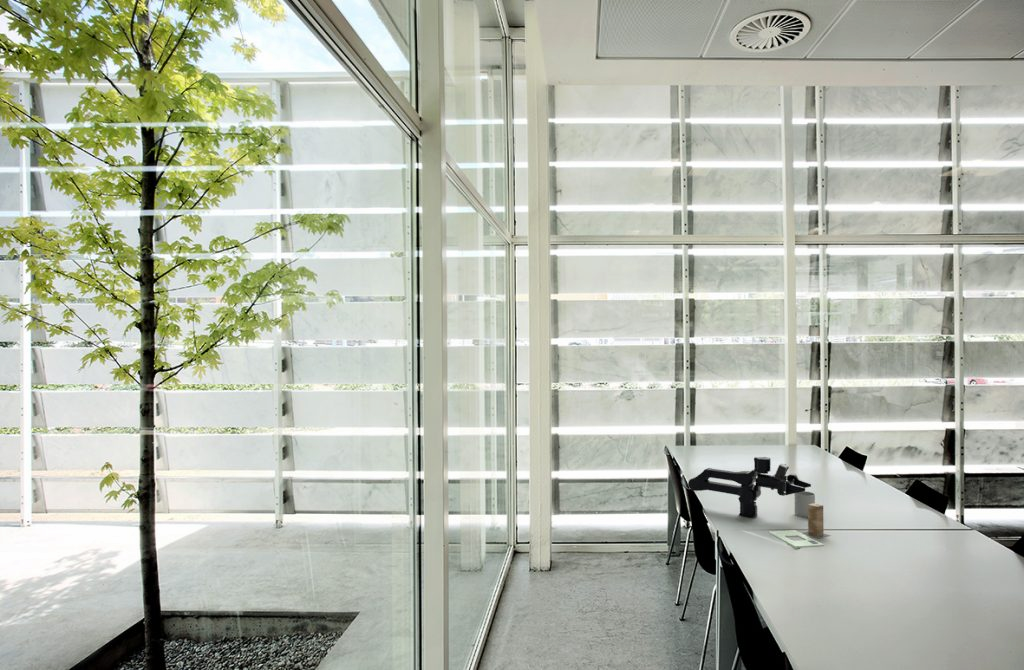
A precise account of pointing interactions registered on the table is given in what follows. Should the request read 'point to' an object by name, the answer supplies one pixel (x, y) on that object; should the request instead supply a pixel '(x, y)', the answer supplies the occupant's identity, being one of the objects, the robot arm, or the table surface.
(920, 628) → the table surface
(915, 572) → the table surface
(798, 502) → the cup
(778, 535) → the flange plate
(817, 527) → the post
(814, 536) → the pad
